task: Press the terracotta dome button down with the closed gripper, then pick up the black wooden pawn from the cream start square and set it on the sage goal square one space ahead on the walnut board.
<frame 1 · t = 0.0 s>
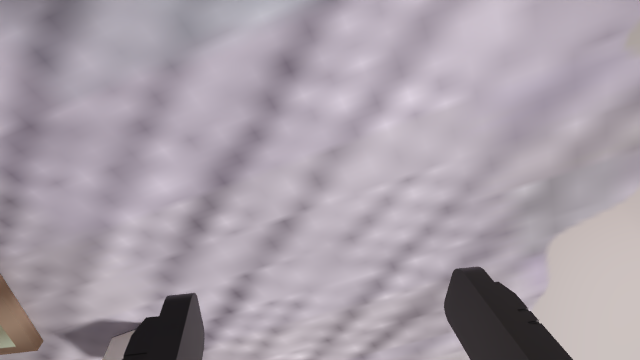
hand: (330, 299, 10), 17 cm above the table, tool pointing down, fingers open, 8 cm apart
die: (143, 342, 35), on the table
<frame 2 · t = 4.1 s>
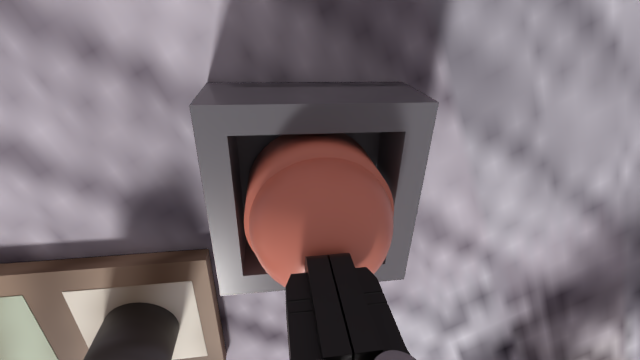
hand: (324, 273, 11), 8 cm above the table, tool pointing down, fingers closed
dome collar: (307, 170, 18), on the table
board: (72, 321, 21), on the table
dome: (321, 222, 14), point 5 cm above the table, slide at 0.5 cm, touching gripper
pawn: (142, 327, 20), point 1 cm above the table, touching board
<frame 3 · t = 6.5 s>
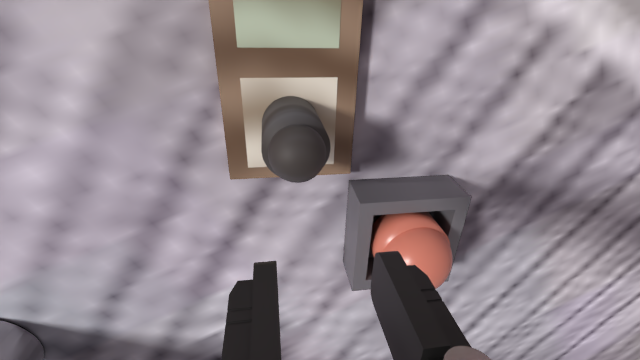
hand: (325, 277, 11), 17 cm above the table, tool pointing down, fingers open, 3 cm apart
dome collar: (393, 220, 32), on the table
board: (288, 60, 24), on the table
dome: (414, 256, 28), point 5 cm above the table, slide at 0.2 cm
pawn: (290, 124, 25), point 1 cm above the table, touching board
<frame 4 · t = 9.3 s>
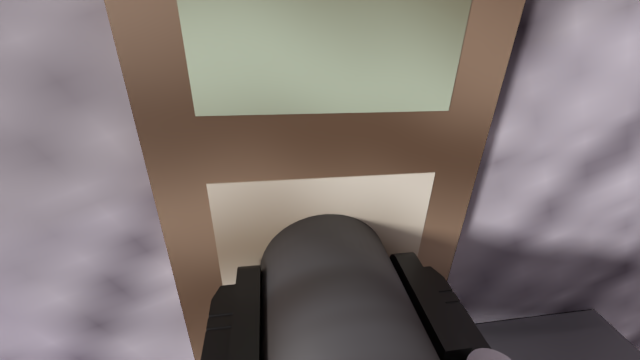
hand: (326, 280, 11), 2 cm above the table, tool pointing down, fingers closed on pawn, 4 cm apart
board: (322, 134, 10), on the table
pawn: (323, 266, 11), point 1 cm above the table, touching board, gripper
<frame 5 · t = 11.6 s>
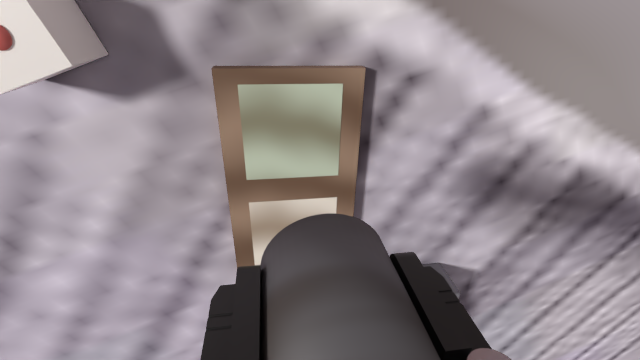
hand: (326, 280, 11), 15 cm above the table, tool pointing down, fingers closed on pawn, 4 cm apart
die: (50, 30, 19), on the table
board: (292, 182, 26), on the table
pawn: (323, 265, 11), point 15 cm above the table, touching gripper
when the fingers open (3 cm above the table, at t = 14.2 s): pawn drops 1 cm, resting on board.
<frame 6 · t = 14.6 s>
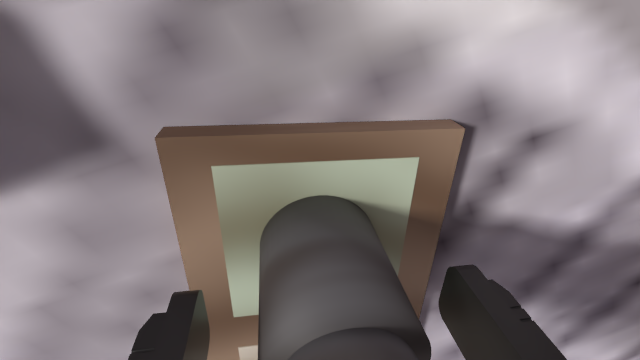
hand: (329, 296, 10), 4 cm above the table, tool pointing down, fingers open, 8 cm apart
board: (313, 305, 15), on the table
pawn: (318, 244, 12), point 1 cm above the table, touching board
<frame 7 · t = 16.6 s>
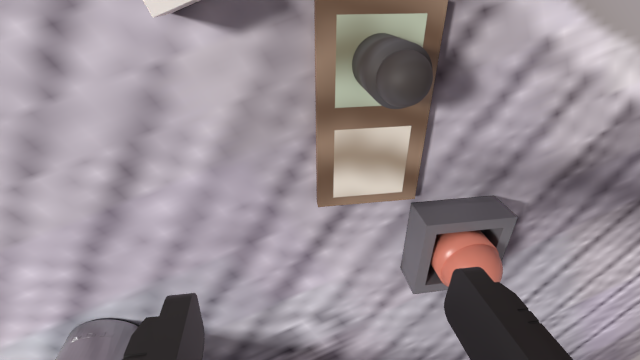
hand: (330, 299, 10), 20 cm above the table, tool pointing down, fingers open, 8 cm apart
dome collar: (445, 233, 38), on the table
board: (371, 113, 29), on the table
dome: (469, 266, 33), point 5 cm above the table, slide at 0.2 cm
pawn: (379, 63, 26), point 1 cm above the table, touching board
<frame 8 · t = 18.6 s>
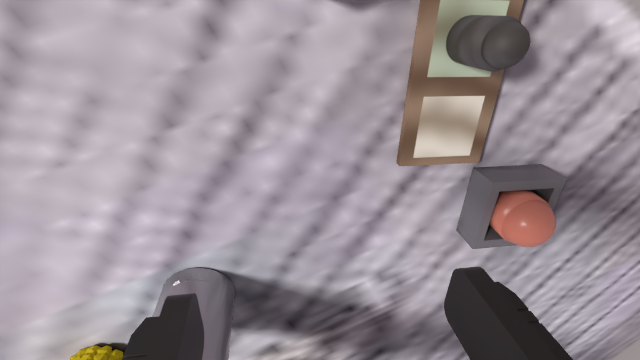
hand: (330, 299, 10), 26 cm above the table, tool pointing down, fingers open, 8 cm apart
dome collar: (497, 198, 43), on the table
board: (452, 84, 35), on the table
dome: (525, 221, 39), point 5 cm above the table, slide at 0.2 cm
pawn: (467, 40, 32), point 1 cm above the table, touching board
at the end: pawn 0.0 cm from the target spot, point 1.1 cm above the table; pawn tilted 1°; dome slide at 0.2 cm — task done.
